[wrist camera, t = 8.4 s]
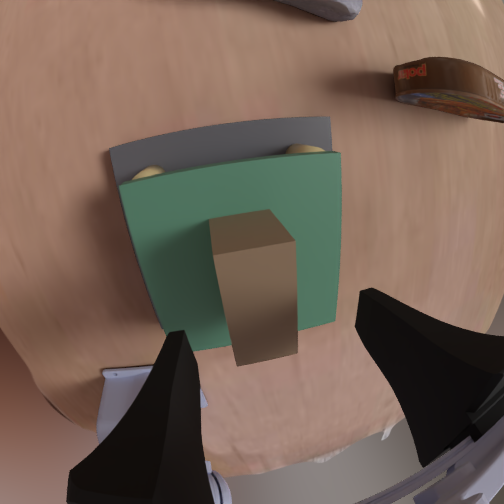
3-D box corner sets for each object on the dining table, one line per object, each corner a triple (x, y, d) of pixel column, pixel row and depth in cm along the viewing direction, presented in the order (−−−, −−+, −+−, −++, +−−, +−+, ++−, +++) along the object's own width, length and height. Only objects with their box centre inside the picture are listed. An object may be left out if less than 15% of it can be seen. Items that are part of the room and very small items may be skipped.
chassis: (162, 321, 21) (159, 356, 18) (113, 147, 15) (91, 152, 11) (326, 289, 23) (346, 318, 19) (323, 116, 16) (353, 116, 13)
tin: (373, 99, 16) (459, 99, 9) (369, 61, 15) (452, 45, 7) (477, 120, 18) (539, 135, 11) (475, 93, 17) (537, 102, 9)
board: (174, 343, 17) (172, 403, 13) (124, 182, 12) (87, 210, 8) (329, 312, 19) (361, 361, 14) (332, 150, 14) (387, 165, 9)
